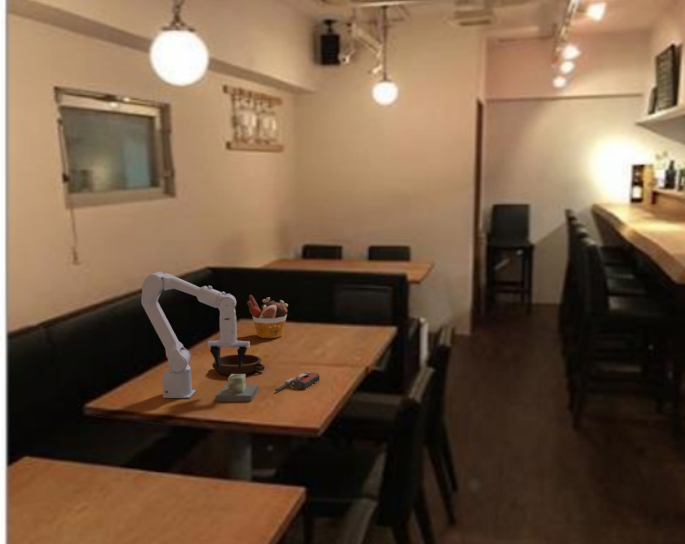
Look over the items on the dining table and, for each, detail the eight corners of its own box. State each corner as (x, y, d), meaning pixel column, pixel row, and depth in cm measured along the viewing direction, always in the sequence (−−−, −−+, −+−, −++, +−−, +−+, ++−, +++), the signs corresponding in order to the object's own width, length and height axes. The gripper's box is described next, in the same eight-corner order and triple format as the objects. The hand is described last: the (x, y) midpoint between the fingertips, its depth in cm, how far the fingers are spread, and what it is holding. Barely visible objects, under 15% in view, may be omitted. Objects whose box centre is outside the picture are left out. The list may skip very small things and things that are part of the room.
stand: (216, 401, 227) (215, 395, 226) (225, 389, 238) (225, 384, 238) (250, 401, 226) (250, 395, 225) (258, 390, 237) (258, 384, 237)
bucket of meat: (293, 332, 324) (292, 292, 322) (284, 341, 308) (283, 298, 306) (254, 331, 328) (252, 291, 325) (243, 339, 312) (241, 298, 309)
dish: (255, 380, 250) (255, 367, 249) (202, 376, 256) (201, 364, 255) (272, 367, 267) (272, 355, 266) (221, 364, 272) (221, 352, 272)
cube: (228, 392, 229) (227, 378, 229) (232, 387, 234) (231, 373, 234) (242, 392, 229) (242, 378, 228) (246, 387, 234) (245, 374, 233)
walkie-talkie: (301, 378, 252) (273, 393, 234) (301, 366, 251) (272, 381, 234) (322, 381, 248) (294, 397, 230) (322, 369, 247) (294, 384, 230)
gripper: (204, 331, 228) (205, 370, 230) (246, 332, 227) (247, 371, 229) (210, 327, 235) (211, 364, 237) (250, 327, 234) (251, 365, 236)
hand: (229, 367), depth 233 cm, fingers open, 7 cm apart
